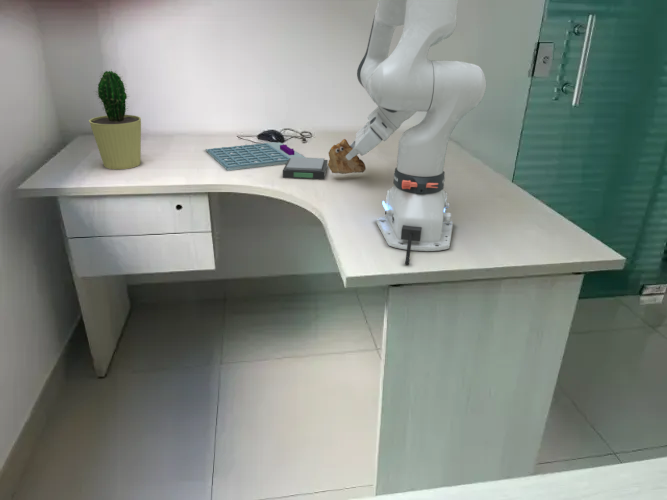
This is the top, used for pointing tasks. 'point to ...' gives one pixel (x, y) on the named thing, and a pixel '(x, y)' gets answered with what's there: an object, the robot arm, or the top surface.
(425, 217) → the robot arm
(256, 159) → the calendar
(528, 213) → the top surface
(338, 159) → the decorative rock
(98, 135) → the potted cactus
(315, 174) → the scale
